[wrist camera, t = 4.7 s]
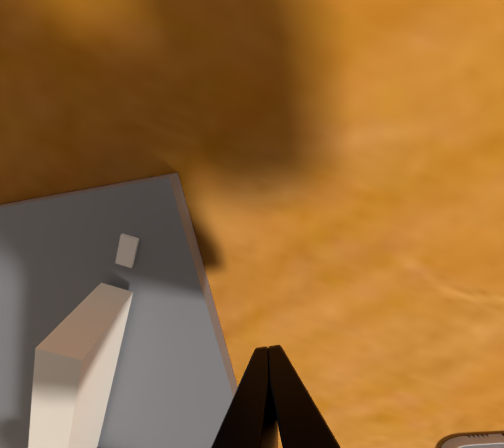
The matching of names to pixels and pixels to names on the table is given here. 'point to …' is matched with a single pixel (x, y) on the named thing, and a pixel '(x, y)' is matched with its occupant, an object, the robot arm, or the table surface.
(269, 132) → the table surface
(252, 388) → the robot arm
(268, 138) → the table surface
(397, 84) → the table surface
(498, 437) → the smartphone
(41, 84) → the table surface
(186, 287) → the dial plate
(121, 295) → the lever
